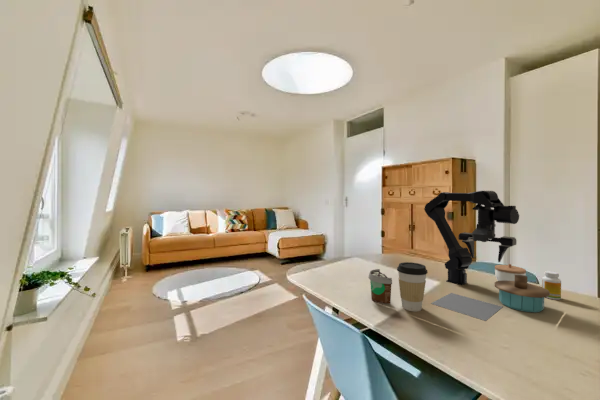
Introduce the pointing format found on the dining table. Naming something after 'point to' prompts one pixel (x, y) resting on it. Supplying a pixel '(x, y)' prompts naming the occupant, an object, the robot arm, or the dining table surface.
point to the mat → (467, 306)
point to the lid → (522, 287)
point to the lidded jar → (508, 272)
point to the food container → (380, 287)
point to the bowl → (521, 302)
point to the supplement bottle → (552, 284)
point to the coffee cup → (412, 285)
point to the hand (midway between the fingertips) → (485, 259)
